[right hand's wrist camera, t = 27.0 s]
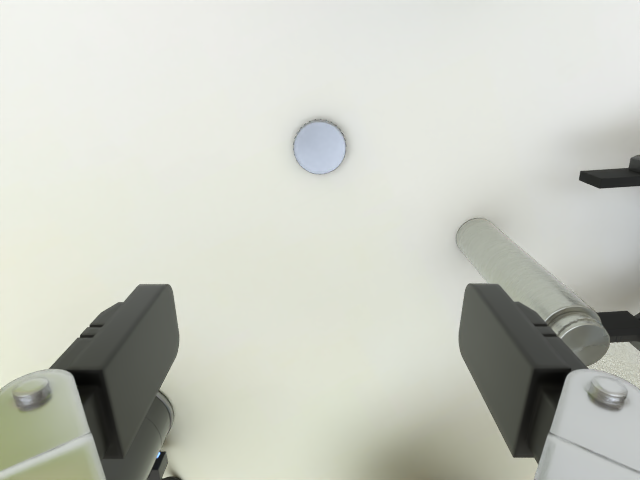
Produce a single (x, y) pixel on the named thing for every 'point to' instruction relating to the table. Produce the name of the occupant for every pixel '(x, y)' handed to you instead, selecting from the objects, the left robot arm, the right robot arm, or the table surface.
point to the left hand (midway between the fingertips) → (575, 258)
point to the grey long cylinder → (533, 288)
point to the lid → (319, 147)
